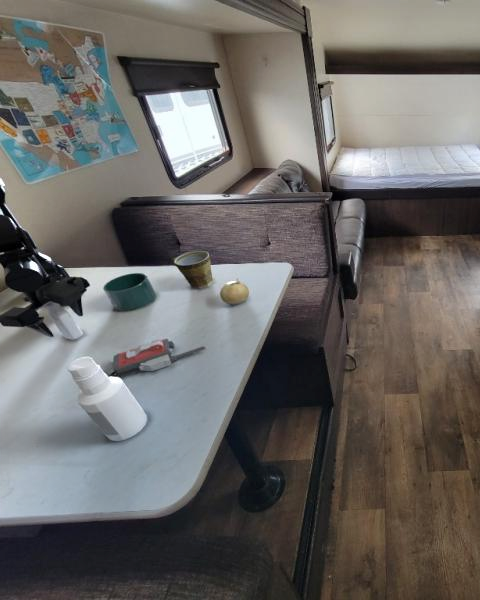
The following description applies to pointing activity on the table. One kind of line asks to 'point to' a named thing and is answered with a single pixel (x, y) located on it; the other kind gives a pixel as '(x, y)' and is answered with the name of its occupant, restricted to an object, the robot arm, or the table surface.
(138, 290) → the canister
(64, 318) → the eye dropper bottle
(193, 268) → the ceramic cup
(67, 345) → the table surface
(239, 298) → the onion
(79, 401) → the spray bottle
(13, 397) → the table surface
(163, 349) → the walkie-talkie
